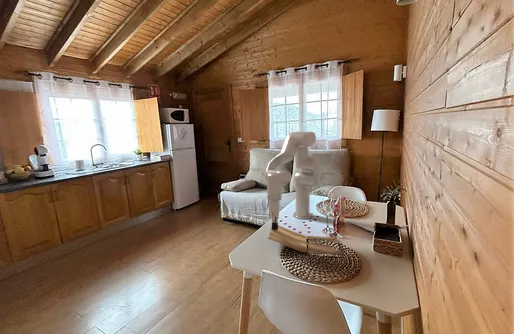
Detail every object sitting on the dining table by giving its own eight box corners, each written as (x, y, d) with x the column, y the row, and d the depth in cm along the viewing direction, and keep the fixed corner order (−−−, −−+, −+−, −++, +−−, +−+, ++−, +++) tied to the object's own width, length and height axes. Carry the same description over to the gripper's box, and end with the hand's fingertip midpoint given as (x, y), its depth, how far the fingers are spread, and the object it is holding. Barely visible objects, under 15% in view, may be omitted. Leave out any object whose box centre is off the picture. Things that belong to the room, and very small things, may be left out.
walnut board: (306, 238, 135) (306, 235, 134) (336, 239, 132) (336, 237, 131) (307, 255, 117) (308, 252, 117) (342, 257, 114) (342, 254, 114)
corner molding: (337, 219, 164) (373, 233, 136) (337, 217, 164) (373, 230, 136) (370, 215, 175) (409, 228, 147) (370, 213, 175) (409, 225, 147)
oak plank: (271, 225, 136) (272, 223, 135) (305, 238, 134) (306, 236, 133) (268, 238, 120) (269, 236, 120) (305, 253, 118) (307, 251, 118)
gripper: (269, 192, 132) (269, 223, 135) (265, 200, 118) (266, 235, 121) (282, 192, 131) (282, 224, 134) (280, 200, 116) (280, 236, 119)
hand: (274, 229), depth 127 cm, fingers closed
